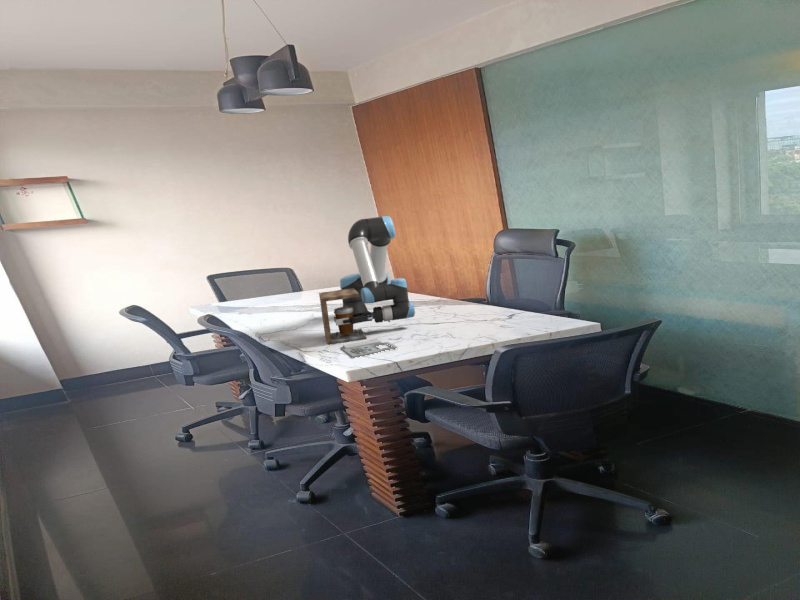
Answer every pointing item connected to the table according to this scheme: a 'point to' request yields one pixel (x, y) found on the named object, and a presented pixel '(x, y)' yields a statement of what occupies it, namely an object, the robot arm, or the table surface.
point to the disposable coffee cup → (344, 313)
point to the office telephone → (365, 348)
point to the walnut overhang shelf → (330, 337)
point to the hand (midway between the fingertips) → (335, 321)
